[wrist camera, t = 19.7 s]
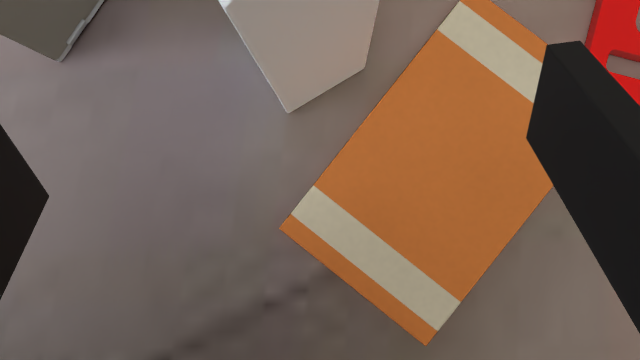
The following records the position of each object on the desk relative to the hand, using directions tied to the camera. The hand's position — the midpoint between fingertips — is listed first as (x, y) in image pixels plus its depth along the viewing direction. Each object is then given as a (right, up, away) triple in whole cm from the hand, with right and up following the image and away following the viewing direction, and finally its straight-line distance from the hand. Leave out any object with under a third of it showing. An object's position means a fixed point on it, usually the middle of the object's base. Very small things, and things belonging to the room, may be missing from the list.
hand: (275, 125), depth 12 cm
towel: (+9, 0, +20) cm, 22 cm away
